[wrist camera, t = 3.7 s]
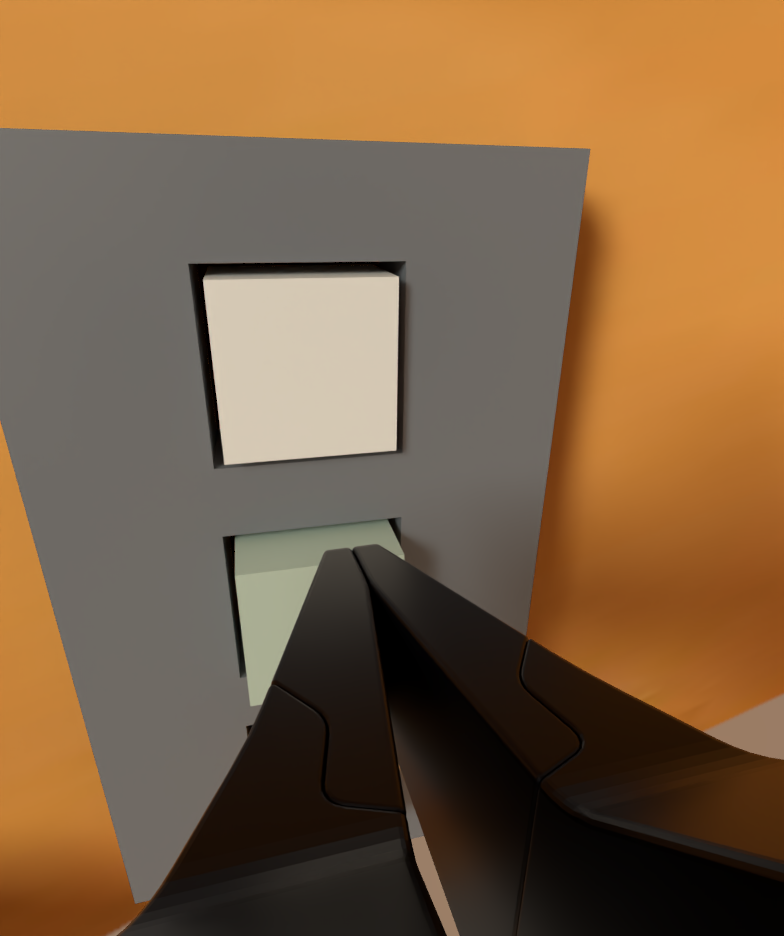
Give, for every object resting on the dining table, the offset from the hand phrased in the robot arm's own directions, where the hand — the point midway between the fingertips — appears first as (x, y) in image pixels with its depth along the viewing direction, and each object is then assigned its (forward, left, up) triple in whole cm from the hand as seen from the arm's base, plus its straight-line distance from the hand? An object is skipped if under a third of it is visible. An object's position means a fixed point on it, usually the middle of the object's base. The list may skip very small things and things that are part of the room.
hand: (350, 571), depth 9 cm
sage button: (0, -5, -8) cm, 10 cm away
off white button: (0, +2, -9) cm, 9 cm away
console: (0, -5, -10) cm, 11 cm away
